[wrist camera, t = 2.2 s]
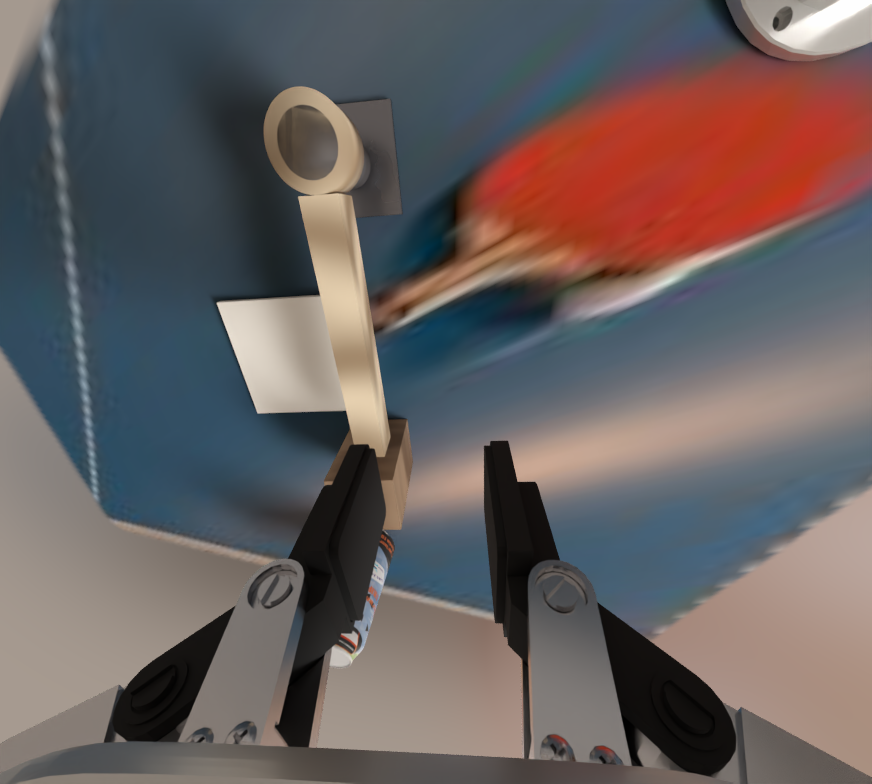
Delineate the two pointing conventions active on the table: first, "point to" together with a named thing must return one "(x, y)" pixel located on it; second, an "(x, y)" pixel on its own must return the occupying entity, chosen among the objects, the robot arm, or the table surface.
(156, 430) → the table surface
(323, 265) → the swing arm
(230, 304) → the tile
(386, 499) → the walnut block
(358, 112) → the pivot plate
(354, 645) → the beverage can
